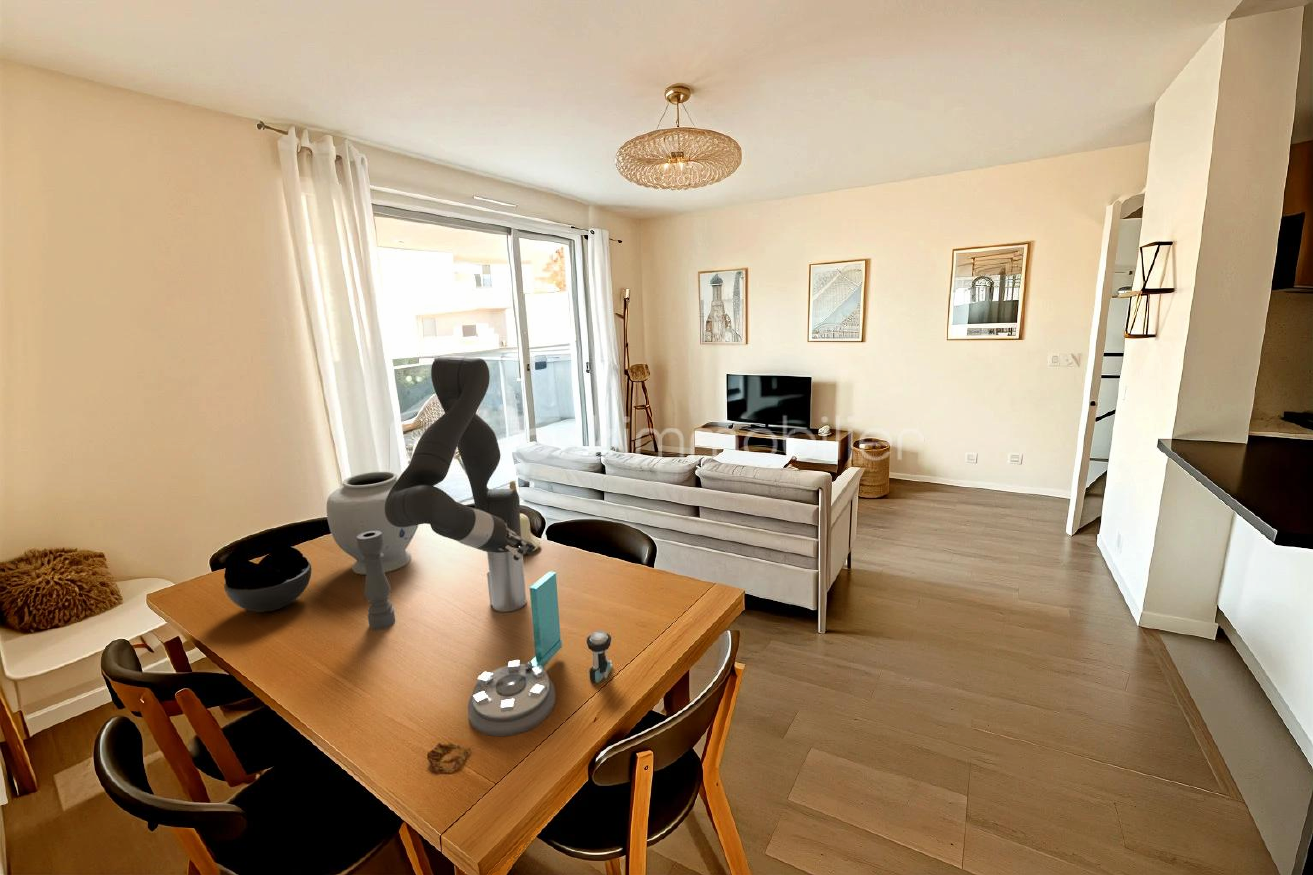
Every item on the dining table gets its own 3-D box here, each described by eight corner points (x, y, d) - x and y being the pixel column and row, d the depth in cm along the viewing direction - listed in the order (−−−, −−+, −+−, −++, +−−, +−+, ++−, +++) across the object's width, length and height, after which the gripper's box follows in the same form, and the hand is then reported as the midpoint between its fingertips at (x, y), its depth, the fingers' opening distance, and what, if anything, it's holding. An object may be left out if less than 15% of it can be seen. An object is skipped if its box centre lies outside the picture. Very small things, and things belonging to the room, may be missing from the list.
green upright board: (521, 729, 100) (513, 638, 96) (456, 711, 105) (446, 624, 101) (586, 652, 123) (582, 576, 119) (531, 640, 128) (524, 567, 125)
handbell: (534, 559, 179) (529, 487, 174) (489, 560, 180) (482, 488, 175) (544, 540, 194) (539, 474, 189) (503, 541, 195) (496, 475, 190)
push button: (602, 662, 123) (600, 623, 121) (621, 670, 120) (619, 629, 118) (583, 679, 117) (581, 637, 115) (603, 687, 114) (600, 644, 112)
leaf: (450, 781, 92) (451, 772, 92) (420, 766, 95) (420, 757, 94) (476, 756, 98) (477, 748, 98) (447, 743, 101) (447, 735, 100)
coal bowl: (332, 597, 157) (321, 536, 154) (258, 632, 140) (245, 565, 136) (289, 585, 166) (278, 527, 162) (215, 617, 148) (201, 553, 144)
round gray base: (450, 716, 107) (449, 707, 107) (514, 669, 121) (513, 661, 121) (511, 748, 98) (510, 739, 98) (572, 694, 112) (571, 686, 112)
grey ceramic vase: (442, 557, 183) (432, 472, 177) (365, 590, 161) (351, 494, 155) (396, 542, 197) (385, 463, 191) (319, 570, 175) (304, 482, 169)
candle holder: (400, 619, 144) (388, 531, 139) (382, 631, 138) (368, 540, 133) (382, 616, 146) (369, 529, 141) (363, 628, 140) (349, 538, 135)
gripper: (505, 533, 108) (556, 552, 122) (475, 498, 116) (527, 520, 130) (481, 563, 108) (536, 579, 121) (453, 526, 115) (507, 545, 129)
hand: (531, 548), depth 126 cm, fingers closed
